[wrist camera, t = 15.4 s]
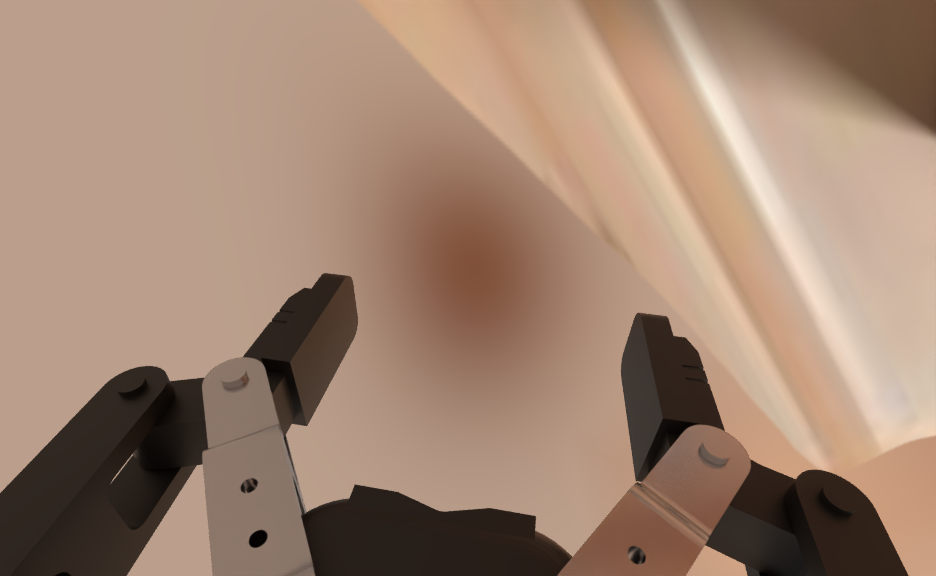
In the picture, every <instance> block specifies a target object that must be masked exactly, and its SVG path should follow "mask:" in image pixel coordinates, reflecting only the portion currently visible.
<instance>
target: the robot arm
mask: <svg viewBox="0 0 936 576" xmlns="http://www.w3.org/2000/svg"><path fill="white" fill-rule="evenodd" d="M357 325H358V316H357V309H356V301H355V294H354V286H353V281H352V278H351V277H350V276H345V275H337V274H328V273H324V274H322V275H321V277H320V278H319V279H318V281H317V282H316V283H315V285H314V286H313V287H312V289H309V288H304V289H302V290H301V291H299V292H298V293H296V294H294V295H293V296H291V297H290V298H289V299H288V300H287V301H286V302H285V304H284V305H283V306H282V307H281V309H280V312H278V313H277V314H276V315H275V316H274V318H273V319H272V322H270V323H269V324H268V325H267V327H266V328H265V329H264V330H263V332H262V333H261V334H260V336H259V337H258V338H257V339H256V341H255V342H254V343H253V345H252V346H251V347H250V348H249V350H248V351H247V352H246V353H245V355H244V356H243V357H241V358H235V359H231V360H228V361H225V362H223V363H221V364H219V365H218V366H216V367H214V368H213V369H212V370H211V371H210V372H209V373H208V374H207V375H206V376H205V378H197V379H188V380H178V381H169V378H168V376H167V374H166V373H165V371H164V370H162V369H161V368H158V367H153V366H144V367H137V368H134V369H130V370H128V371H125V372H123V373H121V374H119V375H117V376H115V377H114V378H113V379H111V380H110V381H108V382H107V383H106V384H105V385H104V386H103V387H102V388H101V389H100V390H99V391H98V392H97V393H96V394H95V396H94V397H93V398H92V399H91V400H90V401H89V402H88V403H87V404H86V405H85V406H84V407H83V408H82V409H81V410H80V411H79V412H78V413H77V414H76V415H75V416H74V417H73V418H72V419H71V420H70V421H69V422H68V424H67V425H66V426H65V427H64V428H63V429H62V430H61V431H60V432H59V433H58V434H57V435H56V436H55V437H54V438H53V439H52V440H51V441H50V442H49V443H48V444H47V445H46V446H45V447H44V448H43V449H42V450H41V452H40V453H39V454H38V455H37V456H36V457H35V458H34V459H33V460H32V461H31V462H30V463H29V464H28V465H27V466H26V467H25V468H24V469H23V470H22V471H21V472H20V473H19V475H17V477H15V478H14V480H13V481H12V482H11V483H10V484H9V485H8V486H7V487H6V488H5V489H4V490H3V491H2V492H1V493H0V576H127V574H128V572H129V571H130V569H131V568H132V566H133V564H134V563H135V562H136V560H137V558H138V557H139V555H140V554H141V552H142V551H143V549H144V547H145V545H146V544H147V542H148V541H149V540H150V538H151V536H152V535H153V533H154V532H155V530H156V529H157V527H158V525H159V524H160V522H161V521H162V519H163V518H164V516H165V514H166V513H167V511H168V510H169V508H170V507H171V505H172V503H173V502H174V500H175V499H176V497H177V496H178V494H179V492H180V491H181V489H182V488H183V486H184V484H185V483H186V481H187V480H188V478H189V477H190V475H191V474H192V472H193V470H194V469H195V467H196V466H197V465H201V464H203V471H204V483H205V494H206V505H207V516H208V526H209V538H210V549H211V560H212V572H213V576H686V574H687V573H688V571H689V569H690V568H691V566H692V565H693V563H694V562H695V560H696V558H697V557H698V555H699V554H700V552H701V550H702V549H703V547H704V546H705V545H706V546H708V547H710V548H712V549H715V550H716V551H718V552H721V553H722V554H725V555H727V556H729V557H731V558H733V559H735V560H737V561H739V562H741V563H743V564H745V566H746V571H747V575H748V576H908V574H907V572H906V570H905V568H904V566H903V564H902V562H901V560H900V558H899V556H898V554H897V551H896V550H895V547H894V545H893V543H892V541H891V539H890V537H889V535H888V533H887V531H886V529H885V527H884V525H883V523H882V521H881V519H880V517H879V516H878V513H877V511H876V509H875V508H874V506H873V504H872V503H871V502H870V500H869V499H868V498H867V497H866V496H865V495H864V494H863V493H862V492H861V491H860V490H859V489H858V488H857V487H855V486H854V485H853V484H851V483H850V482H848V481H847V480H845V479H843V478H842V477H839V476H837V475H835V474H833V473H830V472H826V471H822V470H808V471H805V472H802V473H801V474H800V475H799V476H798V477H797V479H793V478H791V477H788V476H786V475H784V474H781V473H779V472H776V471H774V470H771V469H769V468H767V467H764V466H762V465H760V464H758V463H756V462H754V461H753V460H751V459H750V458H749V455H748V453H747V451H746V450H745V448H744V447H743V446H742V444H741V443H740V442H739V441H738V440H737V439H735V438H734V437H733V436H731V435H730V434H729V433H727V432H725V430H724V427H723V424H722V421H721V418H720V415H719V412H718V409H717V406H716V403H715V400H714V397H713V394H712V391H711V389H710V385H709V384H708V383H707V382H708V380H707V377H706V374H705V371H703V365H702V362H701V359H700V356H699V353H698V351H697V350H696V349H695V348H694V347H693V346H692V345H691V343H690V342H689V341H688V340H687V339H686V338H684V337H676V336H673V333H672V330H671V326H670V323H669V319H668V318H667V316H661V315H652V314H644V313H637V314H636V316H635V318H634V321H633V324H632V327H631V331H630V334H629V337H628V340H627V343H626V346H625V350H624V353H623V357H622V364H621V377H622V385H623V392H624V399H625V407H626V414H627V420H628V428H629V435H630V442H631V450H632V456H633V464H634V471H635V479H636V481H640V482H641V483H640V484H639V483H635V484H634V485H633V486H632V487H631V488H630V489H629V490H628V491H627V493H626V494H625V495H624V496H623V498H622V499H621V500H620V501H619V502H618V503H617V505H616V506H615V507H614V508H613V509H612V511H611V512H610V513H609V514H608V515H607V517H606V518H605V519H604V520H603V521H602V523H601V524H600V525H599V526H598V527H597V529H596V530H595V531H594V532H593V533H592V534H591V536H590V537H589V538H588V539H587V541H586V542H585V543H584V544H583V545H582V547H581V548H580V549H579V550H578V551H577V552H576V554H575V555H574V556H573V557H572V556H571V555H570V554H569V553H568V552H566V550H565V549H563V548H562V547H561V546H560V545H558V544H557V543H556V542H555V541H553V540H551V539H550V538H548V537H546V536H545V535H543V534H541V533H539V532H537V531H535V523H536V522H535V521H536V516H531V515H525V514H520V513H514V512H509V511H503V510H498V509H492V508H486V509H474V510H461V511H449V512H442V511H438V510H435V509H433V508H431V507H429V506H426V505H424V504H422V503H420V502H418V501H416V500H414V499H411V498H409V497H407V496H405V495H403V494H401V493H399V492H394V491H389V490H383V489H377V488H371V487H366V486H360V485H355V486H354V488H353V491H352V493H351V496H350V498H349V499H342V500H337V501H333V502H330V503H326V504H323V505H321V506H319V507H317V508H314V509H312V510H310V511H308V512H307V511H306V509H305V505H304V502H303V498H302V494H301V490H300V486H299V482H298V479H297V475H296V471H295V467H294V463H293V460H292V456H291V452H290V448H289V444H288V440H287V437H286V433H287V431H288V429H289V428H290V426H291V424H297V425H304V426H307V425H308V423H309V421H310V420H311V418H312V416H313V414H314V412H315V410H316V408H317V406H318V405H319V403H320V401H321V399H322V397H323V395H324V393H325V391H326V390H327V388H328V386H329V384H330V382H331V380H332V378H333V377H334V375H335V373H336V371H337V369H338V367H339V365H340V363H341V362H342V360H343V358H344V356H345V354H346V352H347V350H348V348H349V347H350V345H351V343H352V341H353V339H354V337H355V334H356V331H357ZM132 454H133V456H132V457H131V459H130V460H129V461H128V462H127V464H126V465H125V466H124V468H123V469H122V470H121V472H120V473H119V474H118V475H117V477H116V478H115V479H114V480H113V478H114V477H115V476H116V474H117V473H118V472H119V470H120V469H121V468H122V466H123V465H124V464H125V463H126V461H127V460H128V459H129V458H130V456H131V455H132ZM112 480H113V482H112ZM111 482H112V483H111Z"/></svg>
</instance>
